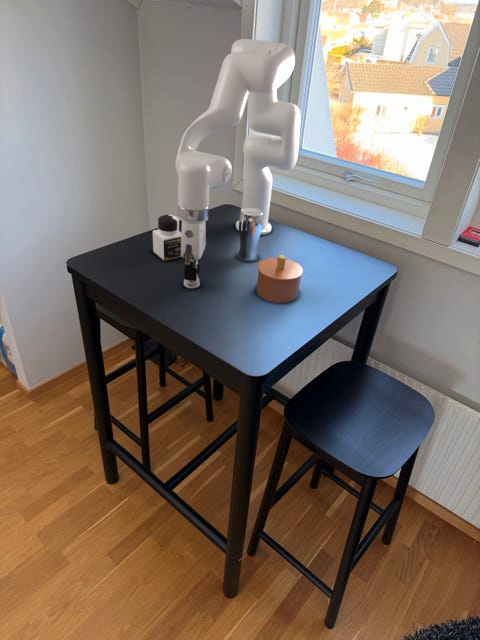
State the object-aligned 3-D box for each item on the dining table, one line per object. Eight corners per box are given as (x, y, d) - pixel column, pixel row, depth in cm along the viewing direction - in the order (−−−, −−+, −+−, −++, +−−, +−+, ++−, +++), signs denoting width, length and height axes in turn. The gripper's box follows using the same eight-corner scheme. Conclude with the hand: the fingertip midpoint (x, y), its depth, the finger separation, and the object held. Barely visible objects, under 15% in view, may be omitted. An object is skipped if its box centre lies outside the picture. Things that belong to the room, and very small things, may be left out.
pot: (258, 279, 135) (260, 257, 131) (297, 284, 134) (301, 262, 130) (255, 300, 125) (257, 277, 121) (297, 305, 125) (301, 282, 121)
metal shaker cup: (256, 264, 143) (261, 217, 134) (234, 260, 143) (237, 213, 135) (260, 254, 148) (265, 209, 140) (238, 250, 149) (242, 205, 141)
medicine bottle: (164, 261, 140) (163, 223, 133) (152, 251, 144) (151, 214, 137) (184, 256, 143) (185, 219, 136) (173, 247, 148) (173, 210, 141)
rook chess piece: (188, 279, 132) (188, 254, 127) (202, 283, 130) (203, 258, 126) (180, 286, 128) (180, 260, 124) (195, 291, 127) (196, 264, 122)
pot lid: (259, 258, 131) (260, 244, 129) (302, 263, 131) (304, 249, 128) (255, 279, 121) (257, 264, 119) (302, 285, 121) (305, 270, 118)
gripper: (202, 226, 110) (200, 293, 121) (213, 202, 124) (210, 264, 134) (170, 222, 111) (171, 289, 121) (185, 199, 124) (184, 261, 135)
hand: (191, 275), depth 127 cm, fingers closed on rook chess piece, 3 cm apart
